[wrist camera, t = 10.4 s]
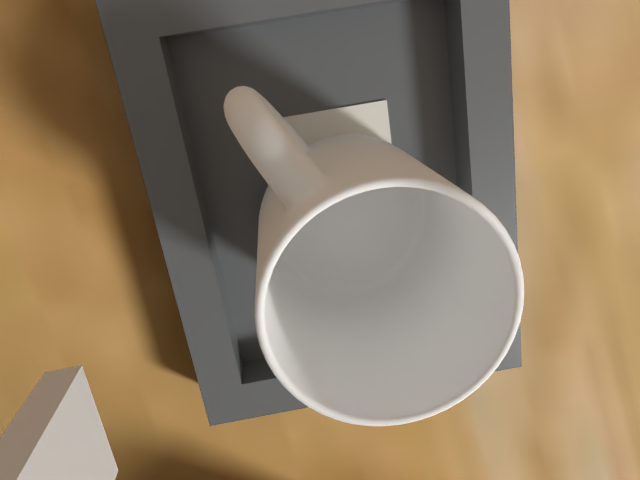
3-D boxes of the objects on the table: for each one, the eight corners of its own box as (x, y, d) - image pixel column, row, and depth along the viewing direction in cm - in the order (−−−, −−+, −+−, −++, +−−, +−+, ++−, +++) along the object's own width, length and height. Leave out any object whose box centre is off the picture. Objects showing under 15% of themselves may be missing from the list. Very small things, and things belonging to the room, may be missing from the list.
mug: (168, 139, 24) (101, 195, 14) (315, 20, 23) (352, -8, 13) (327, 325, 28) (360, 470, 18) (460, 230, 27) (571, 328, 17)
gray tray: (215, 390, 29) (209, 425, 27) (113, -3, 23) (92, -11, 20) (497, 337, 30) (521, 366, 27) (477, -60, 24) (506, -76, 21)
